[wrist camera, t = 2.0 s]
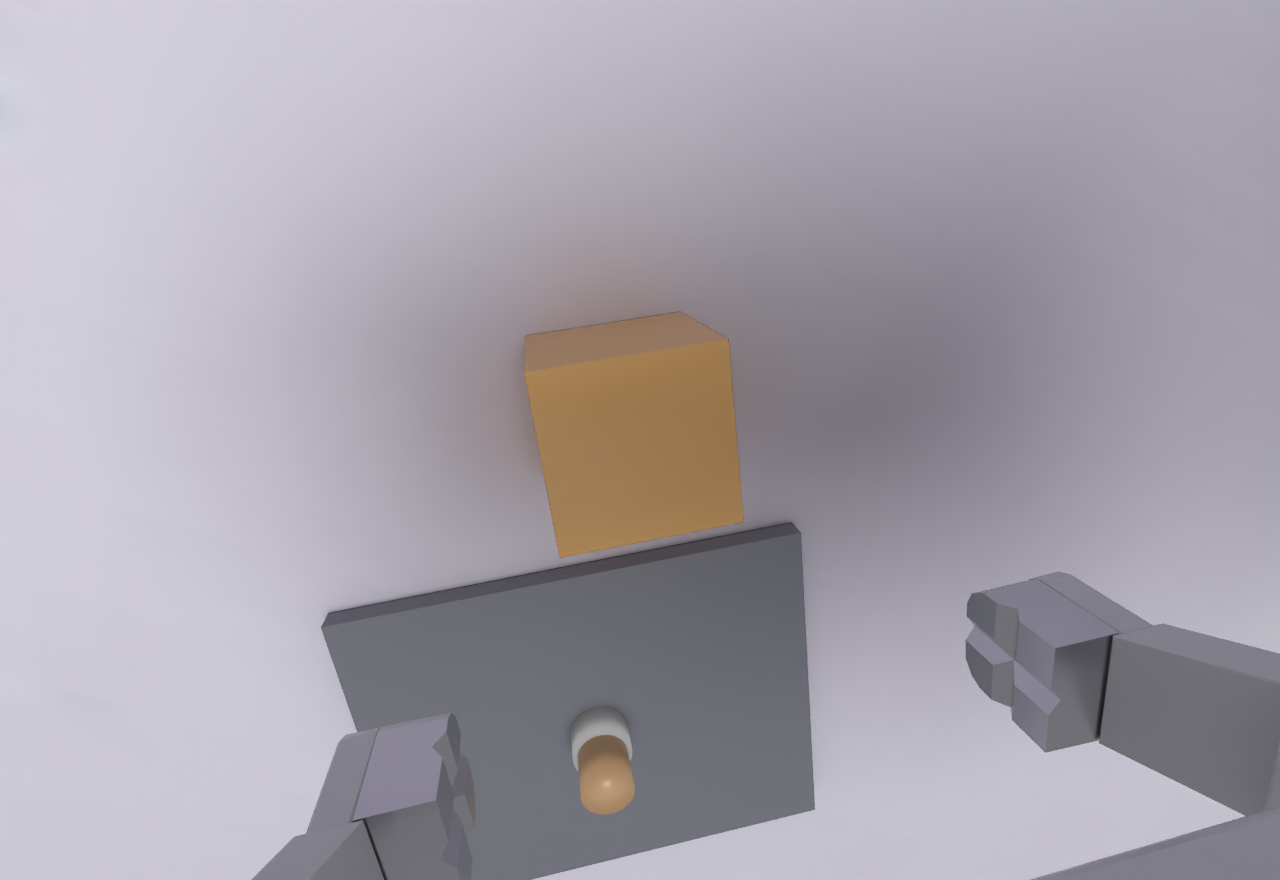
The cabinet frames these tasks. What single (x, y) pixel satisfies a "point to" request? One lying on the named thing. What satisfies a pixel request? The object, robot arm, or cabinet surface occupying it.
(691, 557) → the plate
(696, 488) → the wooden cube
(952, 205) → the cabinet surface
